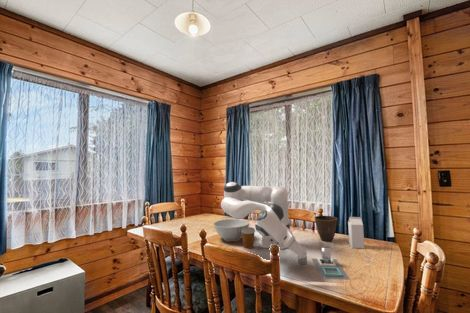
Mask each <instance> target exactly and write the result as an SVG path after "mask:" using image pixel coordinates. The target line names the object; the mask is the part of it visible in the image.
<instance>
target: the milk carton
mask: <svg viewBox="0 0 470 313" xmlns="http://www.w3.org/2000/svg"><path fill="white" fill-rule="evenodd" d="M347 225H348V228H347V229H348V244H349V246H350V247H351V248H352V249H365V238H364V237H365V235H364V224H363V220H362V216H349V217H348V221H347Z"/></svg>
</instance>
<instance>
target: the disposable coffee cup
mask: <svg viewBox="0 0 470 313" xmlns="http://www.w3.org/2000/svg"><path fill="white" fill-rule="evenodd" d="M241 232H242V237H241V238H242V243H243V248H245V249H253V248H254V242H255V233H256V228H254V227H252V226H251V227H250V226H249V227H245V228H242V230H241Z"/></svg>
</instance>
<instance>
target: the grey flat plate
mask: <svg viewBox="0 0 470 313" xmlns="http://www.w3.org/2000/svg"><path fill="white" fill-rule="evenodd" d="M311 260H312V262H313V264H314V267H315V270H316V271H317V274H318V276H319V278H320V279H326V280H327V279H328V280H351V278H350V276H348V274H347V272H346V271H345V269H343V267H342V265H341V264H340V262H339V261H338V259H336V258H331V264H322V258H311ZM321 282H323V281H321ZM341 283H344V282H341Z"/></svg>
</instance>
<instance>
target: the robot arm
mask: <svg viewBox="0 0 470 313" xmlns="http://www.w3.org/2000/svg"><path fill="white" fill-rule="evenodd" d="M223 191H224V192H223V199H222V200H221V202H220V207H221V210H223V212H224V213H225V214H226V215H229V217H232V219H242V220H243V219H245V218H246V217H247V216H248V215H250V214H251V213H252V212H254V211H260V212H259V213H258V215H257V217H256V222H255V224H254V227H255V228H254V229H255V231H256V232H258V234H260V235H261V239H260V240H259V242H258V246H259V248H264V249H270V248H269V247H270V245H271V244H276V245H278V246H279V247H280V249H279V250H285V249H289V250H290V251H292V252H293V253H294V254H295V255H296V256H297V257H298V256H299V257H302V256H303V257H304V258H305V257H306V256H307V255H308V254H307V255H306V254H305V250H304V249H303V248H302V247H301V246H302V245H300V243H299V242H298V241H297V240H296V237H295V236H294V234H293V231H292V230H291V224H290V220H289V218H290V215H289V202H288V201H289V200H288V199H289V198H288V197H289V192H288V190H287V189H286V188H285V187H284V186H269V185H268V186H266V185H265V186H263V185H262V186H261V185H241V184H239V183H238V182H235V181H229V182H227V183H225V184H224V187H223ZM307 257H308V256H307Z"/></svg>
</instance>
